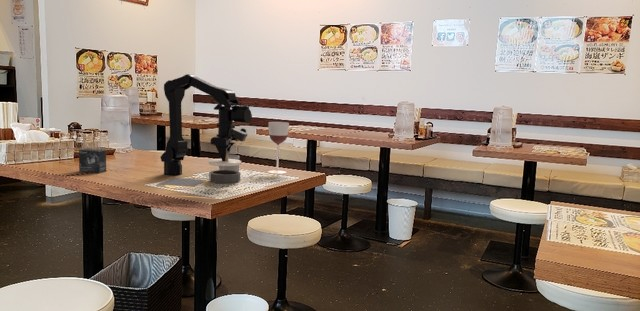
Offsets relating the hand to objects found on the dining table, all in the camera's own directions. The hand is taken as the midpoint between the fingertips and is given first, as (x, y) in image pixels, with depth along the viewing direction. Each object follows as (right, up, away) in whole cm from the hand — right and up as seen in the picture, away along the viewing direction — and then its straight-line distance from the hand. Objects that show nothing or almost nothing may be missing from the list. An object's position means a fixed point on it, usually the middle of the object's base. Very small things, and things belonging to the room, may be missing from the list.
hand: (224, 160), depth 196 cm
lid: (0, -1, 0) cm, 1 cm away
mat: (-15, -9, -5) cm, 18 cm away
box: (-58, -5, +12) cm, 60 cm away
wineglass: (+18, -6, +31) cm, 37 cm away
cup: (-2, -7, +15) cm, 17 cm away
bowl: (0, -9, +1) cm, 9 cm away
